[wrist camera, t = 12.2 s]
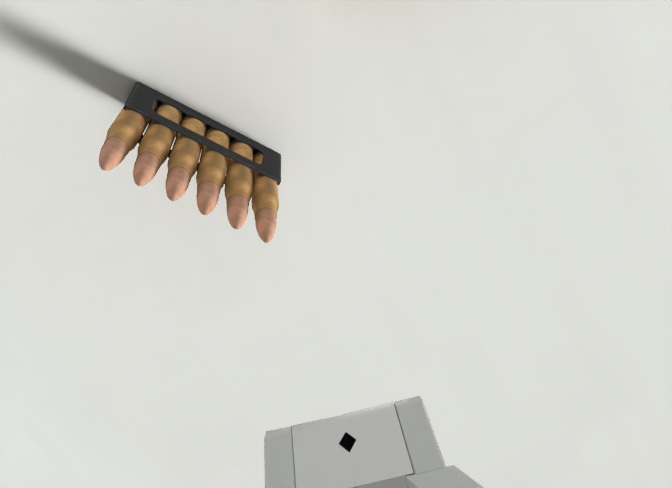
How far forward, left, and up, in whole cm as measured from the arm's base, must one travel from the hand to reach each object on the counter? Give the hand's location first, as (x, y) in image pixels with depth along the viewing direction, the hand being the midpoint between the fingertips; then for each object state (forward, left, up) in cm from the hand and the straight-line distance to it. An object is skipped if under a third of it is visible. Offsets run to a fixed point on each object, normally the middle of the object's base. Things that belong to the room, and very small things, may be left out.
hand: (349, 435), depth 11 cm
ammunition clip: (+3, -6, -31) cm, 32 cm away
